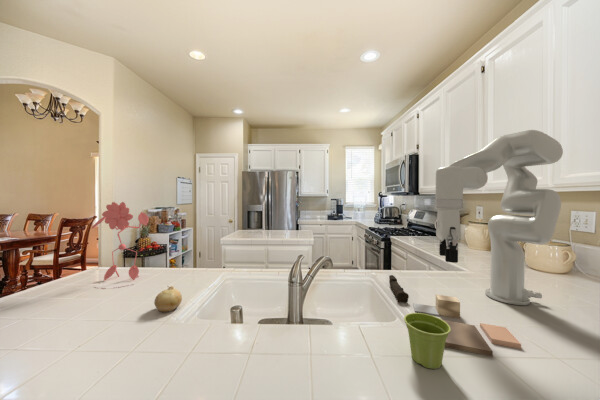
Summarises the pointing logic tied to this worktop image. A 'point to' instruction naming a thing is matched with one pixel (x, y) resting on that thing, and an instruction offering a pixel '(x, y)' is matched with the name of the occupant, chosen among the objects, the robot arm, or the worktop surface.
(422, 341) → the plant pot
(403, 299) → the hand tool
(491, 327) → the tile
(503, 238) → the robot arm
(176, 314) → the worktop surface
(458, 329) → the board
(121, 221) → the figurine
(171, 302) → the onion
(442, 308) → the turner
